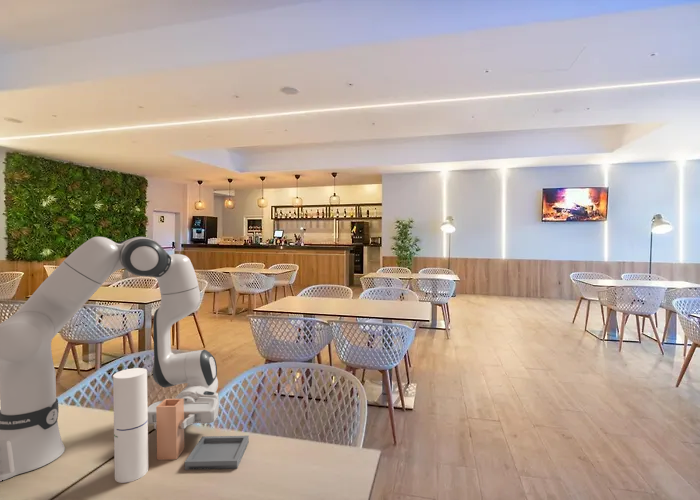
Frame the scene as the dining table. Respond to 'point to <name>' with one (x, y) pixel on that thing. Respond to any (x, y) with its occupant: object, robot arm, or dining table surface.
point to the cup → (169, 429)
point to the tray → (217, 452)
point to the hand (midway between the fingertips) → (169, 426)
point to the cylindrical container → (130, 424)
